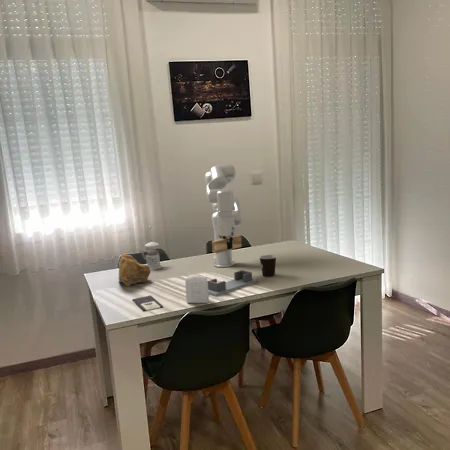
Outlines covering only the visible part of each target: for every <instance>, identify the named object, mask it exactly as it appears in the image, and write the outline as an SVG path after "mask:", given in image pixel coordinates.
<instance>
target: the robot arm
mask: <svg viewBox="0 0 450 450" xmlns="http://www.w3.org/2000/svg"><path fill="white" fill-rule="evenodd" d="M236 176H237V175H236V169H235V166H234V165H233V164H218V165H213V166H212V167H211V169H210V170H209V171H207V172H206V173H205V175H204V181H205V186H206V188H205V194H206V200H207V203H209V204H211V205H212V209H213V212H214V213H212V215H211V223H212V227H213V234H214V240H219V239H223V238H227V239H228V242H227V249H231V250H227V251H223V252H219V253H215V255H214V256H213V257H212V260H213V261H215V262H213V266H214V267H215V268H228V267H232V266H235V265H236V261H235V260H233V251H232V250H233V249H232V248H233V247H232V241H233V239H234V238H235V237H236V235H237V234H236V227H240V226H241V225H242V224H243V215H242V210H241V204H240V200H239V198H238V197H237V196H235V195H234V192H233V190H232V189H231V188H226V186H227V185H228V184H229V185H230V184H232V183H234V181H235V178H236ZM229 237H230V238H229Z"/></svg>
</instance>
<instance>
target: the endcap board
mask: <svg viewBox="0 0 450 450" xmlns="http://www.w3.org/2000/svg"><path fill="white" fill-rule="evenodd" d="M233 274H234V275H233V276H234V279H231V280H228V281H225V280H223V281H218V279H217V278H213V279H209V280H207V281H208V294H209V295H210V296H213V297H218V296H222V295H223V294H227V293H230V292H233V291H235V290H238V289H241V288H244V287H247V286H249V285H253V284H256V283H258V282H259V281H258V279H256V278H253V273H252V272H250V271H247V270H246V271H245V270H242V269H241V270H238V271H234V273H233Z"/></svg>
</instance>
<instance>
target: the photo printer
mask: <svg viewBox="0 0 450 450" xmlns="http://www.w3.org/2000/svg"><path fill="white" fill-rule="evenodd" d="M208 281H209V280H208V277H206V276H204V275H196V274H194V275H189V276H187V277H186V278H185V281H184V282H185V283H184V284H185V295H186V296H185V297H186V299H185V300H186V303H187V304H208V303H209V301H210V298H209V294H208Z"/></svg>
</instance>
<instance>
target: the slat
mask: <svg viewBox="0 0 450 450" xmlns="http://www.w3.org/2000/svg"><path fill="white" fill-rule="evenodd" d="M235 235H236V237H235V238H234V239H233V241H232V247H233V248H232V250H234V249H239V248H241V247H242V246H243V245H242V235H238V234H235ZM229 238H230V237H229ZM227 242H228V239H227V238H223V239H219V240H215V239H214V240H211V246H212V247H211V249H212V253H213V254H216V253H219V252H223V251H227V250H231V249H227Z"/></svg>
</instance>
